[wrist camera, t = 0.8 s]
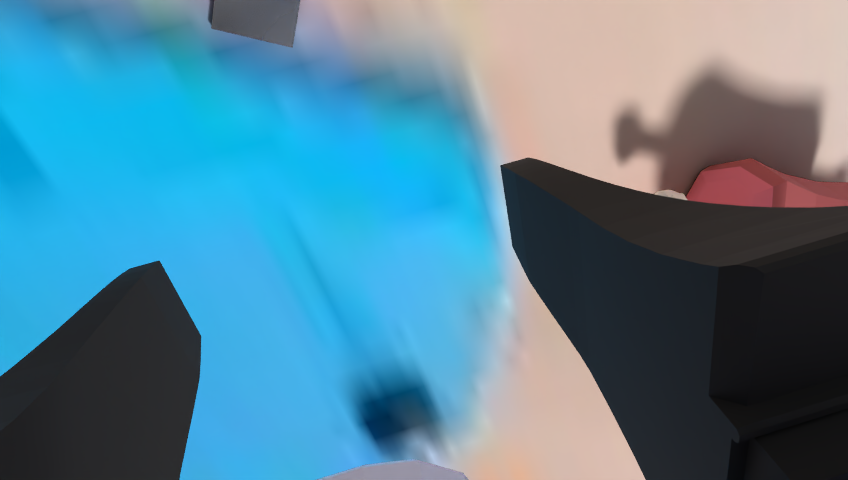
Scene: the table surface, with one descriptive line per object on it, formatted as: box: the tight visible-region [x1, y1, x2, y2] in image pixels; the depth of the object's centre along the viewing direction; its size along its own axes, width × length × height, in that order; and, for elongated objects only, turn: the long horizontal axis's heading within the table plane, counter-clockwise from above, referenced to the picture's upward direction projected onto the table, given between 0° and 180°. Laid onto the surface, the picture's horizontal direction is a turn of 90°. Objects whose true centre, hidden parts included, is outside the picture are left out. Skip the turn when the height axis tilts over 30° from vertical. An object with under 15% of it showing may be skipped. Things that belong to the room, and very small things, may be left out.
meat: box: [654, 158, 848, 207], centre depth 23 cm, size 12×5×5 cm, turn 74°
